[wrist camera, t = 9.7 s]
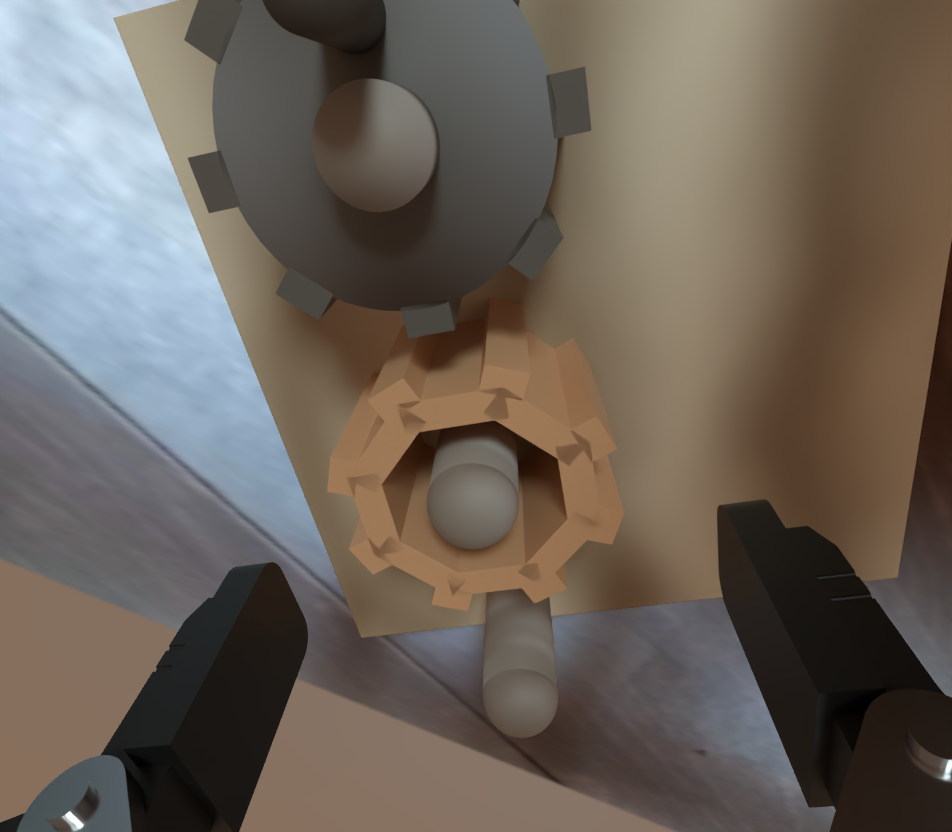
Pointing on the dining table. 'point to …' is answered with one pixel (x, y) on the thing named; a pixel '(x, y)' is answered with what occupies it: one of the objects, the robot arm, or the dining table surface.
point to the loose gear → (468, 402)
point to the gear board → (582, 259)
